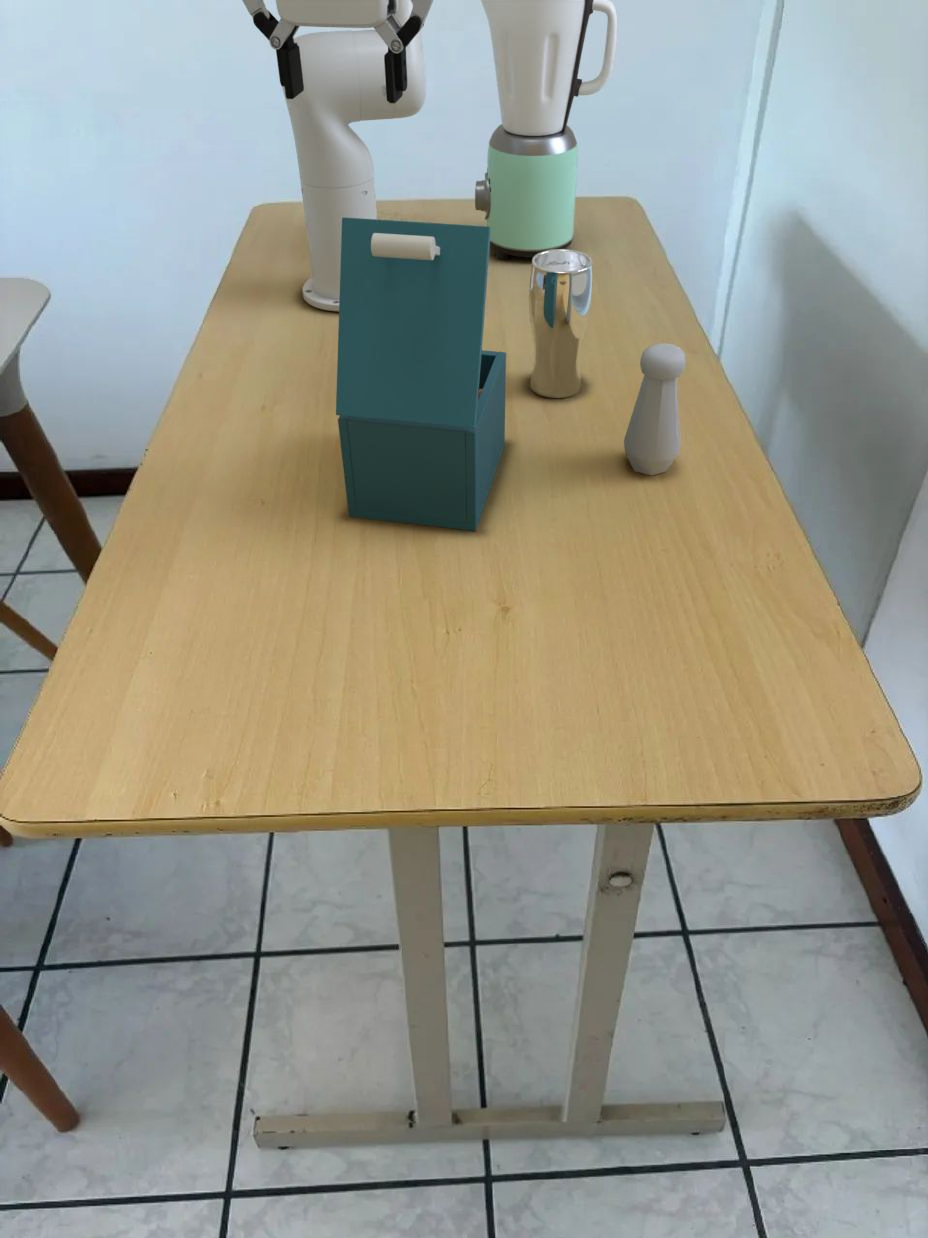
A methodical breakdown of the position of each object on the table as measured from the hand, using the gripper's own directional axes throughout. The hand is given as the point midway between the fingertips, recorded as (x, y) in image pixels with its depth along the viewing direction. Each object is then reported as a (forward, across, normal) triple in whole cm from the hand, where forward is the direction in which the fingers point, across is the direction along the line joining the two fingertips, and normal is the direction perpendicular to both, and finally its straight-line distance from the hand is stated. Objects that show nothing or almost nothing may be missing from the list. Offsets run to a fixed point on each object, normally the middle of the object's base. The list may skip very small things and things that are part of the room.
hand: (344, 97), depth 89 cm
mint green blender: (+32, -11, -51) cm, 61 cm away
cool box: (+32, -10, +13) cm, 36 cm away
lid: (+14, -10, +17) cm, 24 cm away
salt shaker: (+32, -32, +6) cm, 46 cm away
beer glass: (+32, -20, -9) cm, 39 cm away
